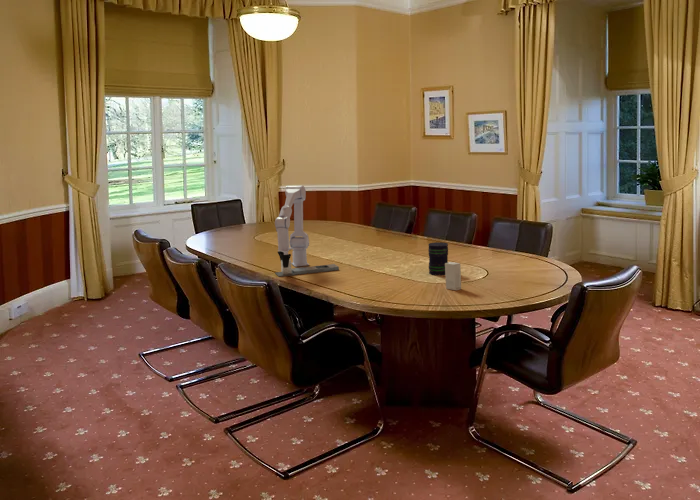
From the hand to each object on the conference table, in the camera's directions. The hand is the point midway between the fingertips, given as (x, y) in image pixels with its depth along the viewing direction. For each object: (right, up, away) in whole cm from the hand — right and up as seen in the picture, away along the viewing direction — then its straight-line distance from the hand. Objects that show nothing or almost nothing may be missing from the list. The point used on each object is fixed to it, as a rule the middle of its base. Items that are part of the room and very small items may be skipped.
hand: (284, 266), depth 358 cm
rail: (+15, -3, +6) cm, 17 cm away
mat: (0, -4, +1) cm, 4 cm away
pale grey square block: (+1, -4, +1) cm, 4 cm away
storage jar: (+79, -4, -10) cm, 79 cm away
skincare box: (+81, -10, -43) cm, 92 cm away
